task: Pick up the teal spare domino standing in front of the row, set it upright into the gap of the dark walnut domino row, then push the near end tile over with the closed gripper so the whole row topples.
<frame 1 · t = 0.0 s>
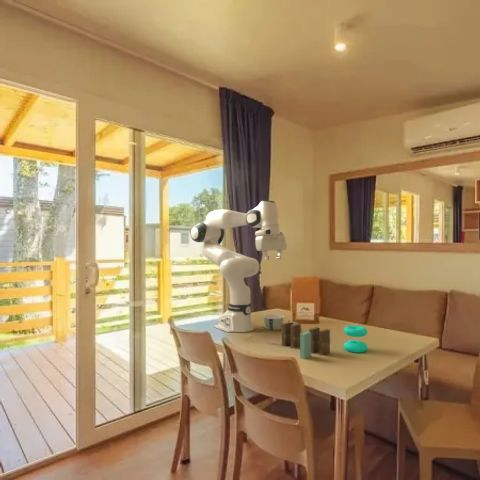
hand: (273, 259, 184), 39 cm above the table, tool pointing down, fingers open, 8 cm apart
domino 5: (324, 353, 157), on the table
domino 4: (314, 351, 161), on the table
food container: (273, 328, 204), on the table
spare domino: (305, 357, 153), on the table
domino 2: (295, 346, 168), on the table
donuts: (355, 350, 162), on the table
domino 1: (287, 344, 171), on the table
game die: (293, 337, 185), on the table
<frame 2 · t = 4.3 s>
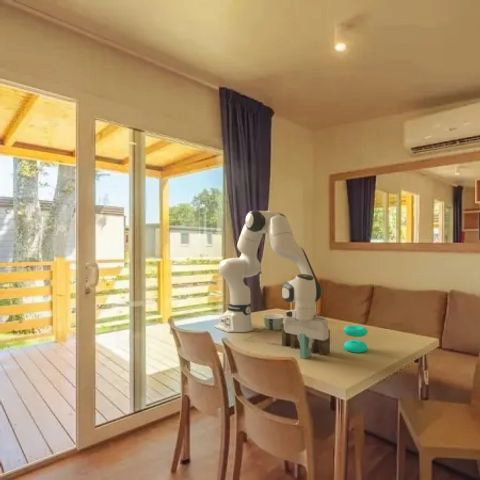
hand: (305, 347, 153), 4 cm above the table, tool pointing down, fingers closed on spare domino, 2 cm apart
spare domino: (305, 356, 153), on the table, touching gripper
everything else where it was.
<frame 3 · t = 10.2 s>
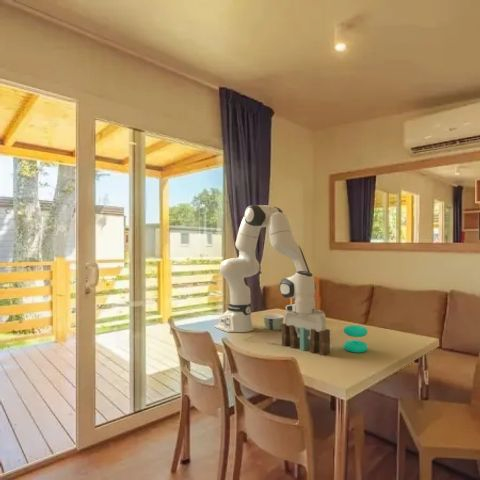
hand: (304, 338, 164), 4 cm above the table, tool pointing down, fingers open, 4 cm apart
spare domino: (305, 349, 164), on the table
domino 2: (295, 346, 168), on the table, touching gripper
everything else where it was.
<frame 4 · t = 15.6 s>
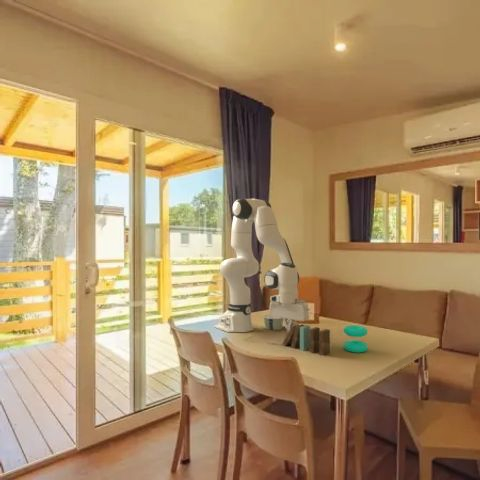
hand: (288, 328, 170), 8 cm above the table, tool pointing down, fingers closed
domino 2: (295, 346, 168), on the table, tilted 16°
domino 1: (287, 343, 171), point 1 cm above the table, tilted 33°
everything else where it was.
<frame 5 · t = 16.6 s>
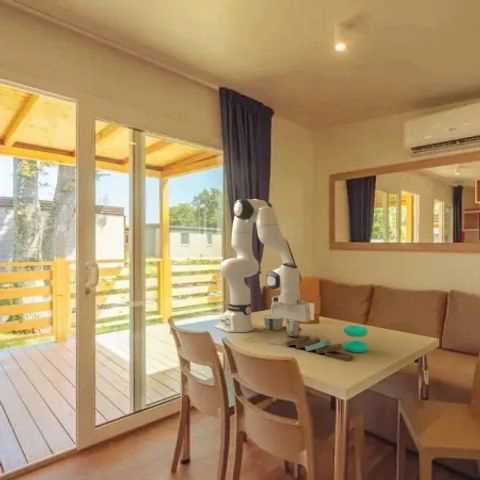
hand: (290, 328, 170), 8 cm above the table, tool pointing down, fingers closed
domino 5: (328, 353, 156), on the table, tilted 90°
domino 4: (318, 350, 159), point 1 cm above the table, tilted 72°, touching spare domino
spare domino: (308, 347, 163), point 1 cm above the table, tilted 66°, touching domino 2, domino 4
domino 2: (299, 345, 166), point 1 cm above the table, tilted 66°, touching domino 1, spare domino
domino 1: (289, 343, 170), point 1 cm above the table, tilted 67°, touching domino 2
everything else where it was.
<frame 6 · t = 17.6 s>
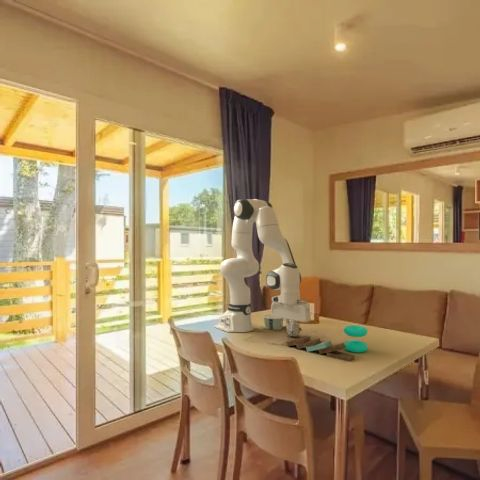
hand: (290, 328, 170), 8 cm above the table, tool pointing down, fingers closed
domino 5: (329, 353, 156), on the table, tilted 90°, touching domino 4
domino 4: (321, 350, 158), point 1 cm above the table, tilted 70°, touching domino 5, spare domino
domino 2: (300, 345, 166), point 1 cm above the table, tilted 68°, touching spare domino
domino 1: (290, 343, 170), point 1 cm above the table, tilted 68°
everything else where it was.
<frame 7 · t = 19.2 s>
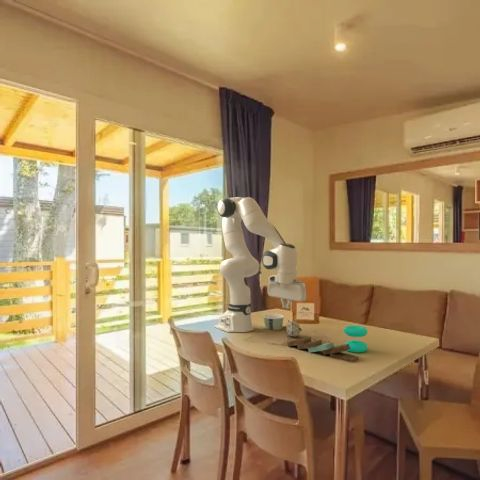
hand: (286, 308, 171), 17 cm above the table, tool pointing down, fingers closed
domino 5: (333, 354, 155), on the table, tilted 90°, touching domino 4
domino 4: (325, 351, 157), point 1 cm above the table, tilted 70°, touching domino 5, spare domino
spare domino: (312, 349, 161), point 1 cm above the table, tilted 70°, touching domino 2, domino 4
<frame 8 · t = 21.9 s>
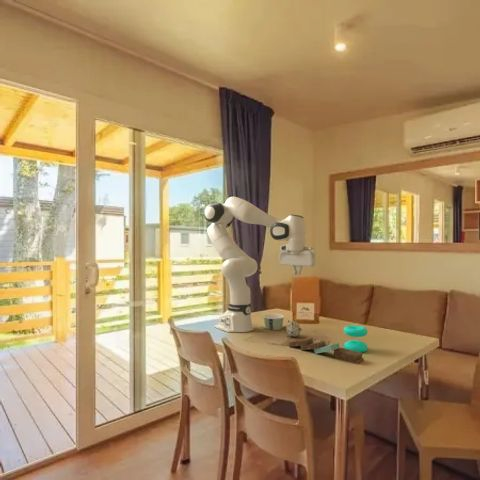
hand: (297, 274, 184), 31 cm above the table, tool pointing down, fingers closed
domino 5: (338, 356, 153), on the table, tilted 90°, touching domino 4
domino 4: (337, 351, 154), point 2 cm above the table, tilted 90°, touching domino 5
spare domino: (318, 350, 159), point 1 cm above the table, tilted 69°, touching domino 2
domino 2: (304, 346, 164), point 1 cm above the table, tilted 72°, touching spare domino
at the end: domino 5 tilted 90°; spare domino inside the target area (5.1 cm from its centre), point 1.0 cm above the table; spare domino tilted 69° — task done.
